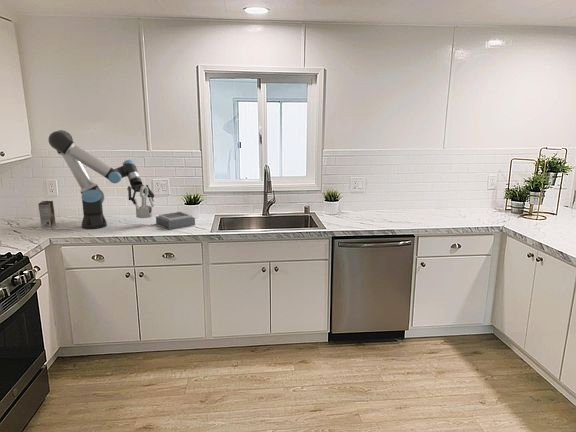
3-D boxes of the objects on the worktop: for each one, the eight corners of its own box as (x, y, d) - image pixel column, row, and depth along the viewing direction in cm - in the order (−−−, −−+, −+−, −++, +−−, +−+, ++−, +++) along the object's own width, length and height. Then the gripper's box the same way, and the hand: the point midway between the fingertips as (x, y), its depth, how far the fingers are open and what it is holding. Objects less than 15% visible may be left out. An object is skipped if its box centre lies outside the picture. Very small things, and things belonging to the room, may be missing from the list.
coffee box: (45, 224, 285) (42, 200, 282) (56, 224, 287) (53, 200, 283) (40, 228, 277) (37, 203, 273) (51, 227, 278) (48, 203, 274)
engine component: (133, 217, 283) (147, 218, 281) (131, 186, 278) (146, 188, 276) (141, 213, 293) (155, 215, 291) (140, 184, 288) (154, 185, 287)
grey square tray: (156, 223, 291) (155, 214, 290) (181, 219, 303) (181, 210, 302) (168, 229, 277) (168, 219, 276) (195, 225, 290) (194, 215, 288)
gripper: (149, 182, 301) (159, 208, 293) (117, 184, 286) (127, 212, 278) (152, 175, 295) (163, 202, 288) (119, 177, 281) (130, 205, 273)
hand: (145, 206), depth 283 cm, fingers closed on engine component, 10 cm apart
